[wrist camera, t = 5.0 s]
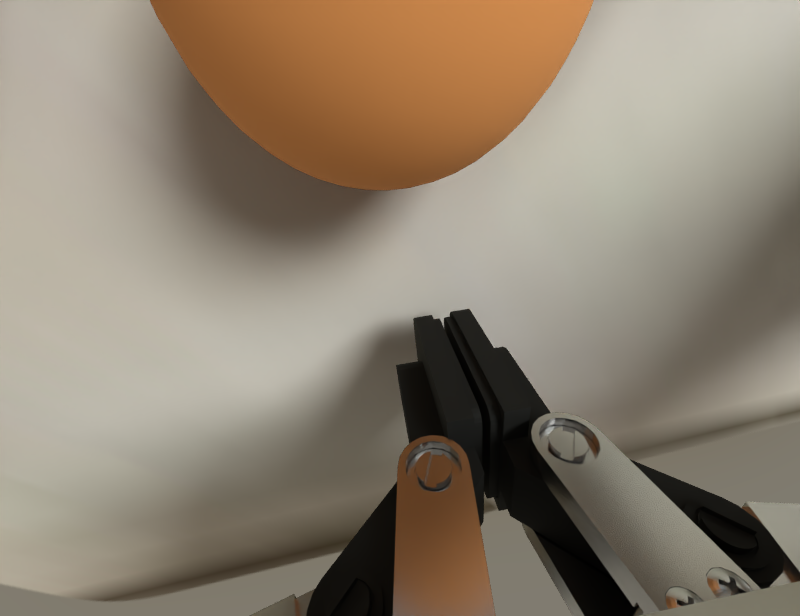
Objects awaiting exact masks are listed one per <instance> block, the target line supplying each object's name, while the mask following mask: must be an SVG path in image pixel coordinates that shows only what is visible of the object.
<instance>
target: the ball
mask: <svg viewBox="0 0 800 616" xmlns="http://www.w3.org/2000/svg"><path fill="white" fill-rule="evenodd" d="M150 2H151V4H152V6H153V8H154V10H155V13H156V15H157V17H158V19H159V20H160V22H161V24H162V25H163V27H164V29H165V30H166V32H167V34H168V36H169V37H170V39H171V41H172V42H173V44H174V46H175V47H176V49H177V51H178V52H179V54H180V56H181V57H182V59H183V61H184V62H185V64H186V66H187V67H188V69H189V70H190V72H191V73H192V74H193V76H194V77H195V78H196V80H197V81H198V82H199V83H200V85H201V86H202V87H203V89H204V90H205V91H206V93H207V94H208V95H209V96H210V97H211V99H212V100H213V101H214V102H215V103H216V104H217V106H218V107H219V108H220V109H221V110H222V111H223V112H224V113H225V114H226V115H227V116H228V117H229V118H230V119H231V120H232V121H233V123H234V124H235V125H236V126H237V127H238V128H239V129H240V130H241V131H243V132H244V133H245V134H246V135H248V136H249V137H250V138H251V139H253V140H254V141H255V142H256V143H258V144H259V145H260V146H261V147H263V148H264V149H265V150H267V151H268V152H269V153H271V154H272V155H273V156H275V157H277V158H278V159H280V160H281V161H283V162H285V163H286V164H288V165H290V166H291V167H293V168H295V169H297V170H299V171H301V172H303V173H306V174H308V175H310V176H312V177H315V178H317V179H320V180H323V181H327V182H330V183H333V184H337V185H340V186H345V187H351V188H357V189H363V190H395V189H404V188H410V187H414V186H418V185H422V184H426V183H430V182H434V181H436V180H439V179H441V178H444V177H446V176H449V175H451V174H454V173H456V172H458V171H459V170H461V169H463V168H465V167H466V166H468V165H470V164H472V163H474V162H475V161H477V160H478V159H479V158H481V157H482V156H483V155H485V154H486V153H487V152H489V151H490V150H491V149H492V148H494V147H495V146H496V145H498V144H499V143H500V142H501V141H503V140H504V139H505V138H506V137H507V136H508V135H509V134H510V133H511V132H512V131H513V130H514V129H515V128H516V127H517V126H518V125H519V124H520V123H521V122H522V121H523V120H524V119H525V117H526V116H527V115H528V113H529V112H530V111H531V110H532V108H533V107H534V106H535V105H536V103H537V102H538V101H539V99H540V98H541V97H542V96H543V94H544V93H545V92H546V90H547V89H548V88H549V87H550V85H551V84H552V82H553V80H554V79H555V77H556V75H557V74H558V72H559V70H560V69H561V67H562V65H563V64H564V62H565V60H566V59H567V57H568V55H569V53H570V51H571V49H572V47H573V45H574V44H575V42H576V40H577V38H578V36H579V33H580V31H581V29H582V27H583V24H584V22H585V20H586V18H587V16H588V13H589V11H590V9H591V6H592V3H593V0H150Z"/></svg>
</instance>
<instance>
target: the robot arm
mask: <svg viewBox="0 0 800 616" xmlns="http://www.w3.org/2000/svg"><path fill="white" fill-rule="evenodd" d="M413 320H414V330H415V339H416V348H417V357H418V362H412V363H406V364H400V365H396V367H397V374H398V380H399V387H400V393H401V399H402V405H403V411H404V416H405V422H406V428H407V433H408V439H409V445H408V446H407V447H406V448H405V449H404V450H403V452H402V454H401V456H400V458H399V463H398V473H397V482H396V484H395V485H394V486H393V488H392V489H391V490H390V491H389V493H388V494H387V495H386V497H385V498H384V499H383V500H382V502H381V503H380V504H379V506H378V507H377V508H376V509H375V511H374V512H373V513H372V515H371V516H370V517H369V518H368V520H367V521H366V522H365V524H364V525H363V526H362V527H361V529H360V530H359V531H358V533H357V534H356V535H355V536H354V538H353V539H352V540H351V542H350V543H349V544H348V545H347V547H346V548H345V549H344V551H343V552H342V553H341V555H340V556H339V557H338V558H337V560H336V561H335V562H334V564H333V565H332V566H331V568H330V569H329V570H328V571H327V573H326V574H325V575H324V577H323V578H322V579H321V581H320V582H319V584H318V585H317V587H316V589H314V590H312V591H310V592H308V593H306V594H304V595H302V596H300V597H298V598H296V597H295V595H294V594H293V595H291V596H289V597H287V598H285V599H283V600H281V601H279V602H277V603H275V604H273V605H270V606H268V607H267V608H264V609H262V610H260V611H258V612H256V613H254V614H252V615H250V616H496V615H495V609H494V603H493V598H492V592H491V586H490V580H489V575H488V569H487V563H486V557H485V551H484V545H483V539H482V534H481V528H480V527H481V525H482V523H483V514H484V492H485V495H486V497H487V498H492V497H494V499H495V502H496V504H497V507H498V510H499V511H500V510H505V509H508V511H509V513H510V516H512V517H513V518H515V519H517V520H518V521H520V522H521V523H522V526H523V528H524V530H525V533H526V535H527V537H528V539H529V540H530V542H531V544H532V546H533V547H534V549H535V551H536V552H537V554H538V556H539V558H540V559H541V561H542V563H543V565H544V566H545V568H546V570H547V572H548V573H549V575H550V577H551V579H552V580H553V582H554V584H555V586H556V587H557V589H558V591H559V592H560V594H561V596H562V598H563V600H564V601H565V603H566V605H567V607H568V608H569V610H570V612H571V613H572V615H573V616H800V504H788V503H765V502H745V503H744V505H743V506H742V507H740V506H738V505H736V504H733V503H732V502H730V501H728V500H726V499H724V498H722V497H719V496H717V495H715V494H712V493H709V492H707V491H705V490H702V489H700V488H698V487H695V486H693V485H690V484H688V483H685V482H683V481H681V480H678V479H676V478H673V477H671V476H668V475H666V474H664V473H661V472H658V471H656V470H654V469H651V468H649V467H647V466H644V465H642V464H640V463H637V462H635V461H632V460H630V459H628V458H627V457H626V456H625V455H624V454H623V453H622V452H621V451H620V450H619V449H618V448H617V447H616V446H615V445H614V444H613V443H612V442H611V441H610V440H609V439H608V438H607V437H606V436H605V435H604V434H603V433H602V432H601V431H600V430H599V429H598V428H596V427H595V426H594V425H593V424H591V423H590V422H589V421H587V420H585V419H583V418H581V417H579V416H576V415H572V414H569V413H559V412H555V413H550V411H549V410H548V408H547V407H546V405H545V404H544V403H543V401H542V400H541V398H540V397H539V395H538V394H537V392H536V391H535V389H534V388H533V386H532V385H531V383H530V382H529V381H528V379H527V378H526V376H525V375H524V373H523V372H522V370H521V369H520V367H519V366H518V364H517V363H516V361H515V360H514V359H513V357H512V356H511V354H510V353H509V351H508V350H507V349H506V348H505V347H499V348H494V347H493V346H492V344H491V343H490V341H489V340H488V338H487V336H486V335H485V333H484V332H483V330H482V328H481V327H480V325H479V324H478V322H477V320H476V319H475V317H474V316H473V314H472V312H471V311H470V310H469V309H465V310H459V311H453V312H450V317H446V318H444V327H443V325H442V323H441V321H440V319H433V317H432V315H429V316H423V317H417V318H414V319H413Z"/></svg>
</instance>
